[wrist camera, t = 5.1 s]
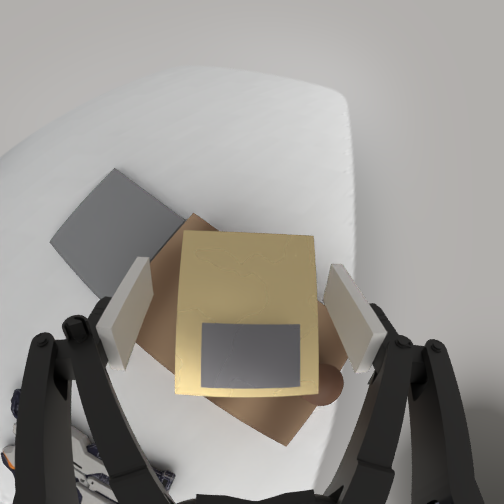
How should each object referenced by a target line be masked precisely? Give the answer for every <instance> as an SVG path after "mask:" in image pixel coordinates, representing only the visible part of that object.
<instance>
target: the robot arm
mask: <svg viewBox="0 0 504 504" xmlns="http://www.w3.org/2000/svg"><path fill="white" fill-rule="evenodd" d="M153 295H154V294H153V287H152V279H151V270H150V261H149V257H137V258H136V260H135V261H134V263H133V265H132V266H131V268H130V269H129V271H128V272H127V274H126V276H125V277H124V279H123V281H122V282H121V284H120V285H119V287H118V289H117V290H116V292H115V294H114V295H113V297H107V296H105V297H103V298H102V299H101V300H99V301H98V303H97V304H96V306H95V307H94V309H93V311H92V312H91V314H90V316H89V317H88V319H87V318H86V317H84V316H82V315H74V316H71V317H69V318H67V319H66V320H65V321H64V322H63V324H62V329H63V332H64V334H65V336H66V339H64V340H55V339H54V337H53V336H52V334H50V333H46V332H44V333H40V334H38V335H36V336H35V337H34V338H33V340H32V342H31V345H30V349H29V353H28V357H27V362H26V366H25V371H24V376H23V381H22V387H21V393H20V399H19V407H18V415H17V424H16V437H15V489H16V492H15V496H14V500H13V504H79V499H78V493H77V487H76V480H75V472H74V463H73V452H72V435H71V387H72V380H76V384H77V388H78V391H79V395H80V399H81V402H82V406H83V409H84V412H85V415H86V419H87V422H88V425H89V427H90V430H91V433H92V436H93V439H94V441H95V444H96V447H97V449H98V452H99V454H100V457H101V459H102V461H103V464H104V466H105V468H106V470H107V473H108V475H109V480H108V481H109V485H110V487H111V489H112V491H113V493H114V495H115V497H116V499H117V501H118V503H119V504H176V503H175V502H174V501H173V499H172V498H171V496H170V495H169V493H168V492H167V491H166V489H165V488H164V486H163V485H162V483H161V482H160V480H159V479H158V477H157V475H156V474H155V472H154V470H153V469H152V467H151V465H150V463H149V462H148V460H147V458H146V456H145V455H144V453H143V451H142V449H141V447H140V445H139V443H138V441H137V439H136V437H135V435H134V433H133V431H132V429H131V427H130V425H129V423H128V421H127V419H126V417H125V414H124V412H123V410H122V408H121V405H120V403H119V401H118V398H117V396H116V393H115V391H114V388H113V386H112V383H111V381H110V378H109V375H108V373H107V370H106V365H107V363H108V362H109V365H110V367H111V369H115V370H121V371H125V370H126V367H127V364H128V361H129V358H130V355H131V353H132V350H133V347H134V344H135V342H136V339H137V336H138V333H139V331H140V328H141V325H142V323H143V320H144V318H145V315H146V313H147V310H148V307H149V305H150V302H151V300H152V298H153ZM323 301H324V303H325V306H326V308H327V310H328V312H329V314H330V317H331V319H332V321H333V323H334V326H335V328H336V330H337V332H338V335H339V337H340V339H341V341H342V344H343V346H344V348H345V351H346V353H347V355H348V358H349V360H350V362H351V365H352V367H353V370H354V372H355V374H358V373H364V372H369V370H370V368H371V366H372V364H373V366H374V369H375V371H374V373H373V375H372V377H371V378H370V380H369V382H368V384H370V385H369V388H368V392H367V395H366V398H365V401H364V404H363V407H362V410H361V413H360V416H359V418H358V421H357V424H356V427H355V430H354V432H353V435H352V437H351V440H350V442H349V445H348V447H347V449H346V452H345V454H344V457H343V459H342V461H341V463H340V465H339V468H338V470H337V472H336V474H335V476H334V478H333V480H332V482H331V484H330V485H329V487H328V488H327V489H326V491H325V492H324V494H323V495H318V494H314V490H306V491H299V492H290V493H284V494H281V495H278V496H275V497H271V498H268V499H264V500H261V501H250V500H245V499H240V498H235V497H230V496H225V495H202V494H196V499H190V500H186V501H182V502H179V503H177V504H385V503H386V500H387V498H388V495H389V491H390V489H391V485H392V483H393V479H394V475H395V472H394V470H392V462H393V459H394V456H395V452H396V448H397V444H398V440H399V436H400V432H401V427H402V423H403V418H404V413H405V407H406V402H407V396H408V404H409V412H410V413H409V414H410V426H411V443H412V444H411V445H412V494H411V496H412V497H411V498H412V504H484V501H483V498H482V496H481V493H480V491H479V488H478V486H477V483H476V481H475V478H474V467H473V459H472V452H471V445H470V439H469V433H468V428H467V422H466V418H465V413H464V409H463V405H462V400H461V396H460V392H459V389H458V385H457V381H456V378H455V375H454V371H453V368H452V364H451V361H450V358H449V355H448V352H447V349H446V347H445V345H444V344H443V343H442V342H440V341H438V340H435V339H430V340H428V341H427V342H426V344H425V346H418V345H413V343H412V342H411V340H410V339H408V338H407V337H405V336H403V335H398V333H397V332H396V330H395V329H394V327H393V326H392V324H391V323H390V321H389V320H388V318H387V317H386V316H385V314H384V312H383V311H382V309H381V308H380V307H378V306H377V305H376V304H373V303H372V304H369V303H368V302H367V300H366V299H365V297H364V296H363V294H362V293H361V291H360V290H359V288H358V287H357V285H356V284H355V282H354V281H353V279H352V278H351V276H350V275H349V273H348V272H347V270H346V269H345V268H344V266H343V265H342V264H331V267H330V272H329V276H328V281H327V285H326V289H325V293H324V297H323Z"/></svg>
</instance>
